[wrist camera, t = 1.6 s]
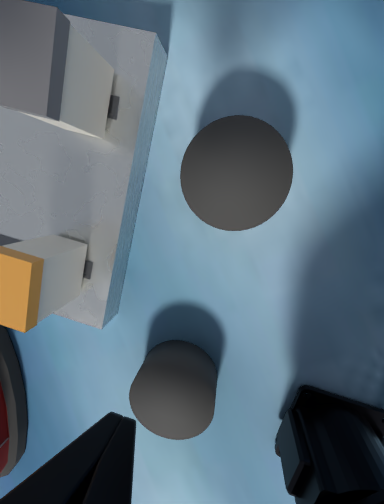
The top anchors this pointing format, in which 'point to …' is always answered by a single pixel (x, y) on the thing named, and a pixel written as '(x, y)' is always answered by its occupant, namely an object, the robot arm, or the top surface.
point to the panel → (87, 170)
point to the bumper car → (11, 407)
